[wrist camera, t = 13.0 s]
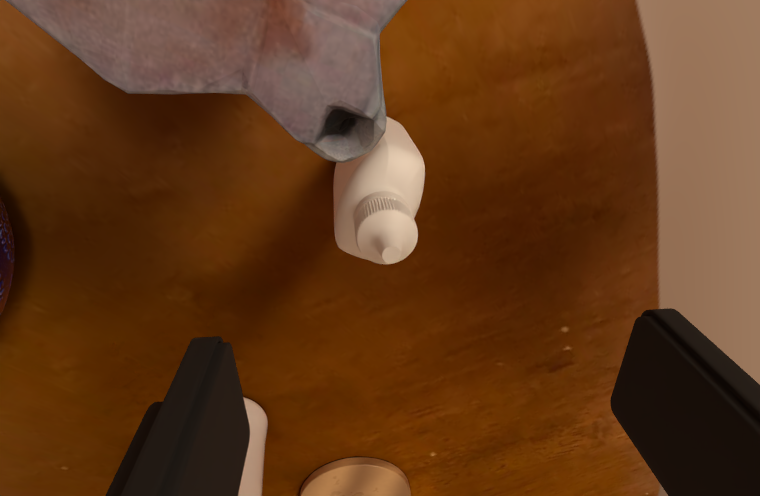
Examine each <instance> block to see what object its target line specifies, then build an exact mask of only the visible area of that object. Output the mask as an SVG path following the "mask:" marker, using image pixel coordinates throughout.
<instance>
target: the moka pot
mask: <svg viewBox="0 0 760 496" xmlns="http://www.w3.org/2000/svg"><path fill="white" fill-rule="evenodd" d="M6 1H7V2H8V3H10V4H11V5H12V6H13V7H15V8H16V9H17V10H19V11H20V12H21V13H22V14H24V15H25V16H26V17H27V18H29V19H30V20H31V21H33V22H34V23H35V24H36V25H38V26H39V27H40V28H41V29H43V30H44V31H45V32H47V33H48V34H49V35H50V36H52V37H53V38H54V39H55V40H57V41H58V42H59V43H61V44H62V45H63V46H64V47H66V48H67V49H68V50H69V51H71V52H72V53H73V54H75V55H76V56H77V57H78V58H80V59H81V60H82V61H83V62H85V63H86V64H87V65H88V66H89V67H90V68H91V69H93V70H94V71H95V72H96V73H97V74H98V75H100V76H101V77H102V78H103V79H104V80H106V81H108V82H109V83H111V84H113V85H114V86H116V87H118V88H119V89H121V90H123V91H125V92H126V93H128V94H195V93H230V94H246V95H248V96H249V97H250V98H251V99H252V100H253V101H255V102H256V103H257V104H258V105H259V106H260V107H262V108H263V109H264V110H265V111H266V112H267V113H269V114H270V115H271V116H272V117H273V118H274V119H275V120H276V121H277V122H278V123H279V124H280V125H281V126H282V127H283V128H284V129H285V130H286V131H287V132H288V133H289V134H290V135H292V136H293V137H294V138H295V139H296V140H297V141H299V142H301V143H304V144H305V145H306V146H307V147H309V148H310V149H311V150H312V151H314V152H315V153H317V154H318V155H320V156H321V157H323V158H324V159H327V160H329V161H334V162H339V163H346V162H351V161H353V160H355V159H357V158H358V157H360V156H362V155H364V154H366V153H368V152H370V151H372V150H373V148H374V147H375V146H376V145H377V143H378V142H379V140H380V139H381V137H382V136H383V135H384V133H385V131H386V123H387V118H386V108H385V101H384V94H383V87H382V76H381V65H380V35H379V34H380V33H381V31H382V30H383V29H384V28H385V27H386V25H387V24H388V23H389V22H390V20H391V19H392V18H393V17H394V15H395V14H396V13H397V12H398V10H399V9H400V8H401V7H402V6H403V5H404V3H405V2H406V1H407V0H6Z"/></svg>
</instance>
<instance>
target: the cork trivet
mask: <svg viewBox="0 0 760 496" xmlns="http://www.w3.org/2000/svg"><path fill="white" fill-rule="evenodd" d="M300 496H411V493H410V486H409V482H408V479H407V477H406V476H405V474H404V473H403V472H402V471H401V470H400V469H399V468H398V467H396V466H395V465H393V464H391V463H389V462H386V461H383V460H380V459H376V458H369V457H353V458H346V459H341V460H337V461H334V462H331V463H329V464H326V465H324V466H322V467H321V468H319V469H317V470H316V471H315V472H313V473H312V474H311V475H310V476H309V477H308V478H307V479H306V481H305V482H304V484H303V485H302V488H301V491H300Z"/></svg>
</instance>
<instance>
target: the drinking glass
mask: <svg viewBox="0 0 760 496" xmlns="http://www.w3.org/2000/svg"><path fill="white" fill-rule="evenodd" d="M243 398H244V403H245V407H246V412H247V416H248V421H249V426H250V440H249V446H248V450H247V455H246V460H245V464H244V469H243V474H242V478H241V483H240V488H239V493H238V496H262V484H263V468H264V453H265V441H266V435H267V428H268V420H267V416H266V414H265V412H264V410H263V409H262V408H261V407H260V406H259V405H258V404H257V403H256V402H254V401H252V400H250V399H248V398H245V397H243Z"/></svg>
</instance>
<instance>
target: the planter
mask: <svg viewBox="0 0 760 496" xmlns="http://www.w3.org/2000/svg"><path fill="white" fill-rule="evenodd" d="M14 259H15V245H14V236H13V231H12V226H11V223H10V219H9V216H8V214H7V211H6V208H5V205H4V203H3V201H2V198H1V196H0V316H1V314H2V312H3V310H4V307H5V305H6V302H7V298H8V295H9V291H10V287H11V284H12V280H13V274H14Z"/></svg>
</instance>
